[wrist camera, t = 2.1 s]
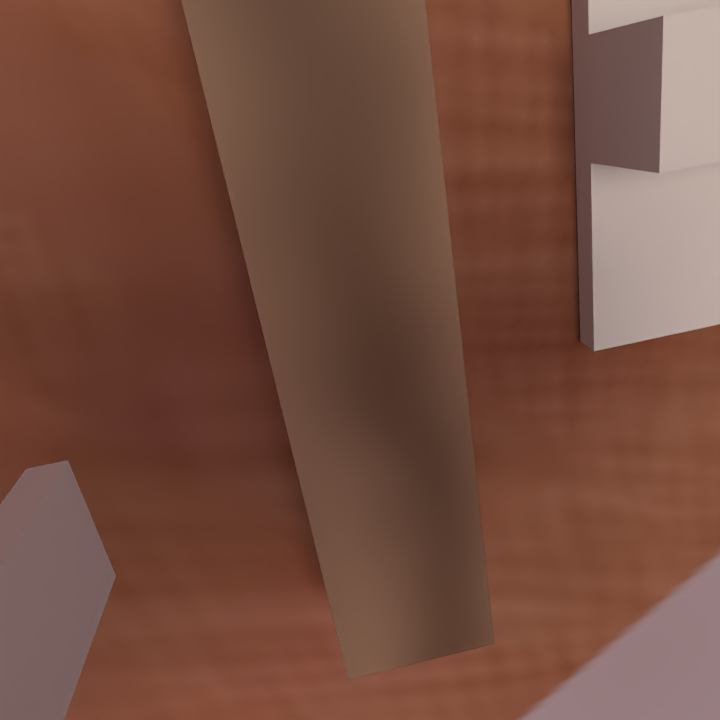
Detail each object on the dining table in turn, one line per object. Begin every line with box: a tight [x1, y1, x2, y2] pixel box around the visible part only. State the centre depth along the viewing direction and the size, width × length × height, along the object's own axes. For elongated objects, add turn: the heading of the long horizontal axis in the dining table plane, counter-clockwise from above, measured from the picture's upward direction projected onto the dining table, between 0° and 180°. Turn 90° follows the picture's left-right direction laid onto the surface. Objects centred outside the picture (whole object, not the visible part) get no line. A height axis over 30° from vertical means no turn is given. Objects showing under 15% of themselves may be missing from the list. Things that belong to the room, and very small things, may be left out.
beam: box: [181, 0, 494, 680], centre depth 18 cm, size 5×22×5 cm, turn 10°
